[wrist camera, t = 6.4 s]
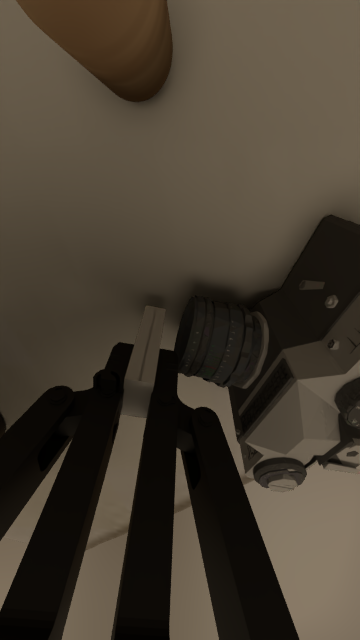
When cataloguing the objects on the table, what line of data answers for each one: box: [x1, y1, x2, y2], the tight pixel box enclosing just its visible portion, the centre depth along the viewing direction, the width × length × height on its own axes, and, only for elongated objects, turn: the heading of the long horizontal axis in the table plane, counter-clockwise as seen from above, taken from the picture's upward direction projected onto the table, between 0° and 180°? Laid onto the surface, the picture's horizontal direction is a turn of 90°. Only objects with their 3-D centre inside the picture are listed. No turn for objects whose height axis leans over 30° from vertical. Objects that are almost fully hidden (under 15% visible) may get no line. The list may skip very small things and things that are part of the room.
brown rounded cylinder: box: [16, 0, 173, 102], centre depth 8 cm, size 3×3×8 cm
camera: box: [174, 215, 360, 492], centre depth 14 cm, size 16×10×10 cm, turn 163°
